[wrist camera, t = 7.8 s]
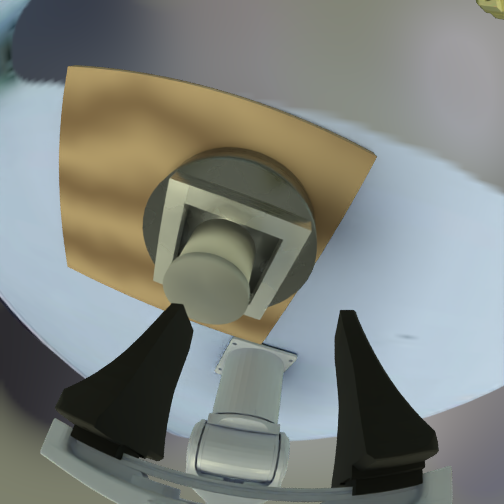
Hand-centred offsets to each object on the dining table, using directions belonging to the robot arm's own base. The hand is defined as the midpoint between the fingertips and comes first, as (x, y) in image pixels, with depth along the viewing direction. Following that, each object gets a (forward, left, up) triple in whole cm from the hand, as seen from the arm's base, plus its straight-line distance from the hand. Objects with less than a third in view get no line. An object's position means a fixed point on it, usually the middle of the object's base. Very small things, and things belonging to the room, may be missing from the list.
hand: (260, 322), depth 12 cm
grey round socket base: (-2, +3, -9) cm, 10 cm away
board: (-4, +8, -10) cm, 13 cm away
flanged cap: (-2, +3, -6) cm, 7 cm away
